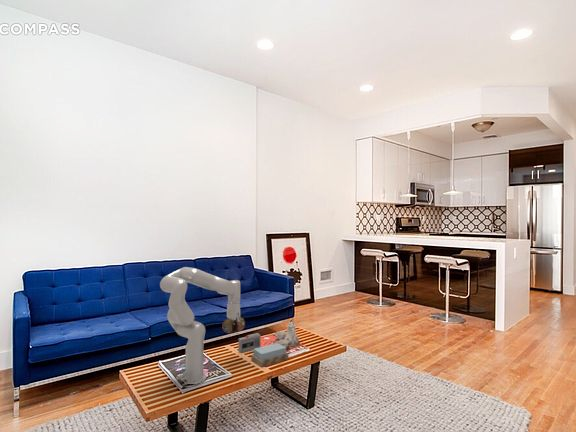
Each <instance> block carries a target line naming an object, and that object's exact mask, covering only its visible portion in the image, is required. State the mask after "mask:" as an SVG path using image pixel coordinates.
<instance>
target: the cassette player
mask: <svg viewBox="0 0 576 432" xmlns="http://www.w3.org/2000/svg"><path fill="white" fill-rule="evenodd" d="M261 341H262V340H261V334H260V333H258V332H257V333H253V334H251V333H250V334H247V335H245V336H244V337H239V338H238V347H237V348H238V353H239V354H244V353H247V352H251V351H253V349H255V348H259V347H262V346H261Z"/></svg>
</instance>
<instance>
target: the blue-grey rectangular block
mask: <svg viewBox="0 0 576 432" xmlns="http://www.w3.org/2000/svg"><path fill="white" fill-rule="evenodd" d="M252 351H253V354H252V355H254V356H255V357H257V358H258V359H260V360H261V361H263V360H267V359H270V358H274V357H277V356H281V355H284V354H286V353H287V348H286V347H284V346H282V345H280V344H279V343H277V342H275V343H271V344H268V345H263V346H261V347H259V348H255V349H253V350H252Z"/></svg>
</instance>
